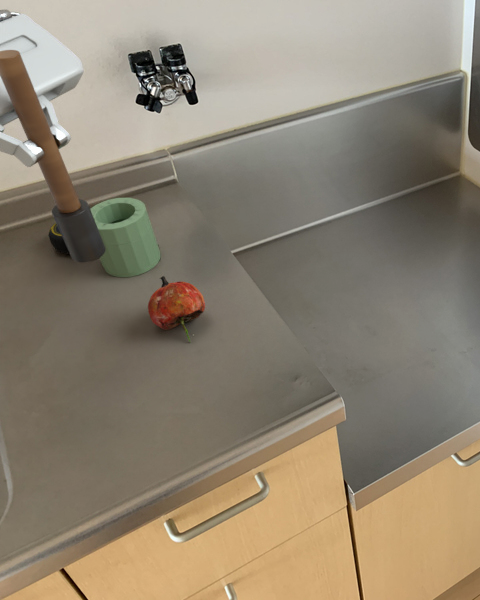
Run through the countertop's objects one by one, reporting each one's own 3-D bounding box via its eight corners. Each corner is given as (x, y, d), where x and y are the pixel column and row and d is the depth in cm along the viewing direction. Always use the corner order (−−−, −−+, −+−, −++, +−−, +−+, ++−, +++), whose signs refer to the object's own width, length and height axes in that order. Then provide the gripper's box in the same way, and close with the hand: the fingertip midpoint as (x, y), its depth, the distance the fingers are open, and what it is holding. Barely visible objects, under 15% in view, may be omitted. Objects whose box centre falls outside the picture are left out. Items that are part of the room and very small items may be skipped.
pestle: (72, 266, 67) (-19, 64, 52) (70, 248, 69) (-17, 50, 54) (107, 257, 68) (28, 57, 53) (104, 240, 70) (27, 44, 56)
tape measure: (89, 258, 98) (81, 239, 95) (47, 257, 98) (38, 238, 96) (106, 233, 103) (99, 215, 101) (66, 232, 103) (58, 214, 101)
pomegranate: (219, 337, 88) (199, 273, 89) (210, 330, 80) (188, 260, 82) (167, 354, 86) (147, 288, 88) (153, 348, 79) (132, 277, 80)
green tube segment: (106, 283, 93) (86, 234, 87) (101, 252, 99) (82, 205, 93) (164, 268, 96) (149, 220, 90) (156, 239, 102) (141, 192, 96)
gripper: (7, 25, 65) (110, 125, 69) (-188, 100, 51) (-43, 221, 55) (23, -17, 61) (132, 93, 65) (-184, 53, 47) (-28, 187, 51)
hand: (51, 152), depth 60 cm, fingers closed on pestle, 2 cm apart
